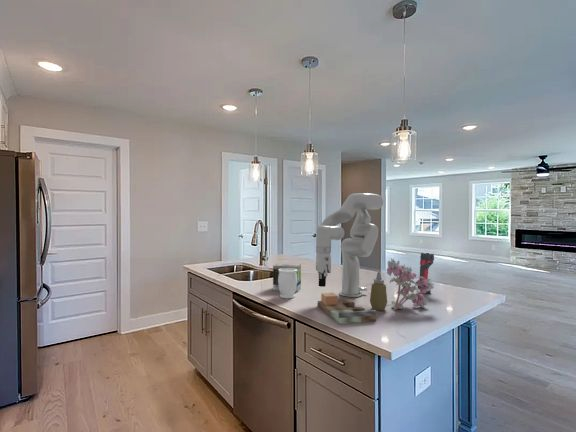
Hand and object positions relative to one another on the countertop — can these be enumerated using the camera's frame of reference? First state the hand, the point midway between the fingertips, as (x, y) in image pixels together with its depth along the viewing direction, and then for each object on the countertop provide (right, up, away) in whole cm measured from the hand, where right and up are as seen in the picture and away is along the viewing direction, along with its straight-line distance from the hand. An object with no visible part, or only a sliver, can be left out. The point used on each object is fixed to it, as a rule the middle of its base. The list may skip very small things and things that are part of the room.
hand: (322, 286), depth 164 cm
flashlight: (+64, -9, +26) cm, 69 cm away
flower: (+43, -10, -5) cm, 44 cm away
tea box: (-18, -8, +28) cm, 35 cm away
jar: (-17, -9, +12) cm, 23 cm away
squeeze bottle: (+26, -9, -8) cm, 29 cm away
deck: (+9, -9, -15) cm, 20 cm away
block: (+3, -6, -7) cm, 10 cm away
